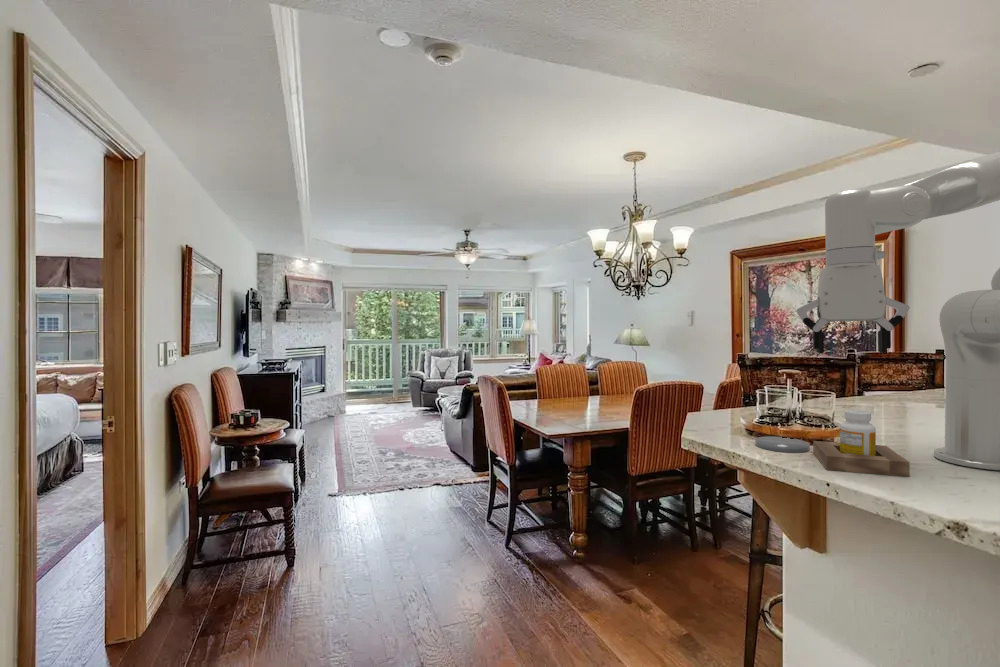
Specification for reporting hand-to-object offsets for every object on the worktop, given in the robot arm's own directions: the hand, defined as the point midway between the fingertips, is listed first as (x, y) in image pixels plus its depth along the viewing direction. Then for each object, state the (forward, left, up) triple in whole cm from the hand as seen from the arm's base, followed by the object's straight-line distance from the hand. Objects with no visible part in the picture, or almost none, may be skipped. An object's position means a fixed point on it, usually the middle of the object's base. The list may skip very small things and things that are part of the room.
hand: (850, 352), depth 95 cm
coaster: (+10, -9, -20) cm, 25 cm away
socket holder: (-1, +1, -20) cm, 21 cm away
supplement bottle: (-1, +1, -21) cm, 21 cm away
